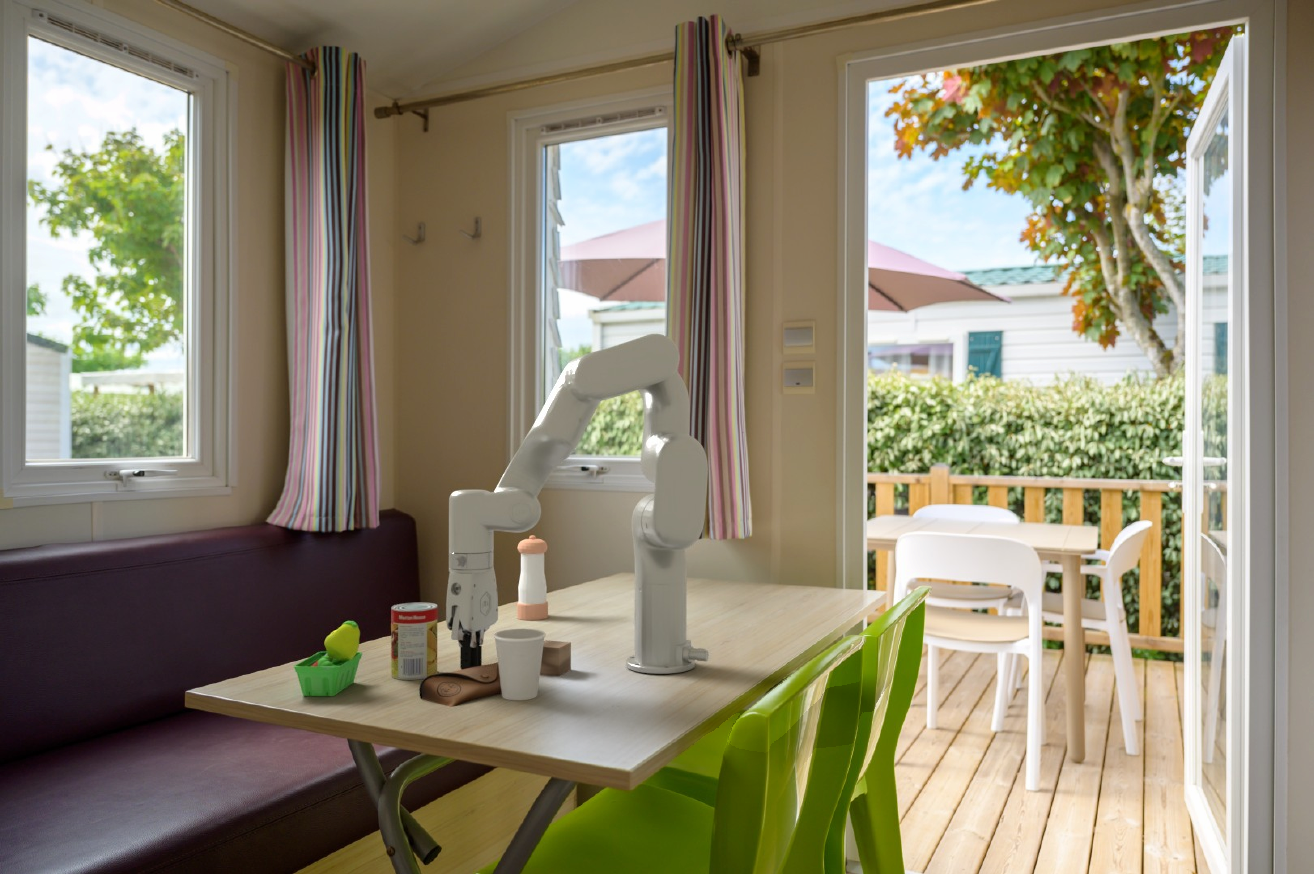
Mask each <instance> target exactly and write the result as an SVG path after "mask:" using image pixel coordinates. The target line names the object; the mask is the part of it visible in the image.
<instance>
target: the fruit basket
mask: <svg viewBox="0 0 1314 874" xmlns="http://www.w3.org/2000/svg"><path fill="white" fill-rule="evenodd" d="M360 636H361V631H360V629H359V625H358V623H357V622H355V621H354V620H347V621H345V622H343V623H342V624H341V626H340V627H337V629H336V630H333V631H332V632H330V634H329V635H327V636H326V638H325V640H324V643H323V644H324V647H325V649H326V650H325V651H318V652H316V653H315V654H313V655H312V656H310V657H307V658H305V659H304V660H302V661H300V662H299V663H297V664H295V665H293V668H294V670H295V671H294V672H295V673H296V675H297V678H298V681H299V686H300V689H301V693H302V695H303V697H310V696H311V697H334V696H336V695H337V694H339V693H341V692H342V691H343V690H344V689H346V688H348V687H349V686H351V685H352V684H354V682H355V679H356V676H357V671H358V668H359V663H360V661H361V659H362V656H363V652H361V651H359V647H360Z"/></svg>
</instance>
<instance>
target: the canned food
mask: <svg viewBox="0 0 1314 874" xmlns="http://www.w3.org/2000/svg"><path fill="white" fill-rule="evenodd" d="M390 610H391V612H390V613H391V614H390V615H391V617H390V621H391V623H390V631H391V634H390V635H391V637H390V639H391V640H390V647H391V648H390V658H391V659H390V661H391V662H390V676H391V677H392V678H393V679H396V680H401V681H403V680H404V681H412V680H413V681H414V680H424V679H425V678H426V677H428V676H431V675H434V674H438V604H437V603H433V602H405V603H399V604H398V603H397V604H394V605H392V606H391V609H390Z"/></svg>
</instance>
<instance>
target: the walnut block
mask: <svg viewBox="0 0 1314 874" xmlns="http://www.w3.org/2000/svg"><path fill="white" fill-rule="evenodd" d="M571 670H572V642H571V641H570V642H569V641H558V640H547V639H546V640H545V639H544V644H543V652H542V661H541V669H540V676H551V677H554V676H555V677H560V676H562V675H564V674H565V673H567V672H569V671H571Z"/></svg>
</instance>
